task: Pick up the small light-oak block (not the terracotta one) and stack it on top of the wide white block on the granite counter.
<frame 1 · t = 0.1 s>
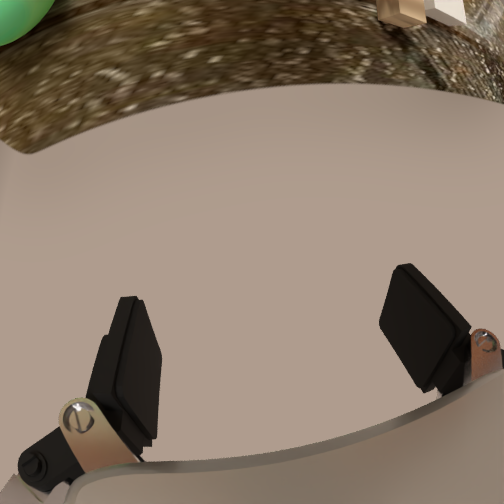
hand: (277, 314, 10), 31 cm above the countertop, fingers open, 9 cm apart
oak block: (389, 11, 28), on the countertop
white block: (430, 1, 26), on the countertop
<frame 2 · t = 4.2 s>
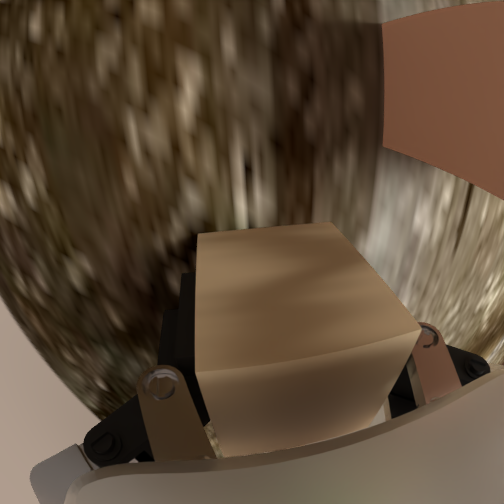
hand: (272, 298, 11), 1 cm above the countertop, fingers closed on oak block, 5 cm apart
terracotta block: (431, 94, 9), on the countertop
oak block: (267, 283, 12), on the countertop, touching gripper
when the fingers open (7 cm above the countertop, at t = 8.4 s): oak block drops 1 cm, resting on white block.
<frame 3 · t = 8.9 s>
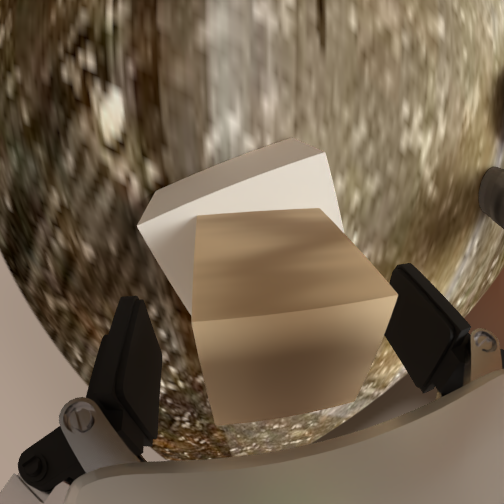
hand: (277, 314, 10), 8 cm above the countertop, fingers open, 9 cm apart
oak block: (260, 264, 13), point 5 cm above the countertop, touching white block
beverage cup: (490, 189, 18), on the countertop
white block: (247, 223, 17), on the countertop, touching oak block
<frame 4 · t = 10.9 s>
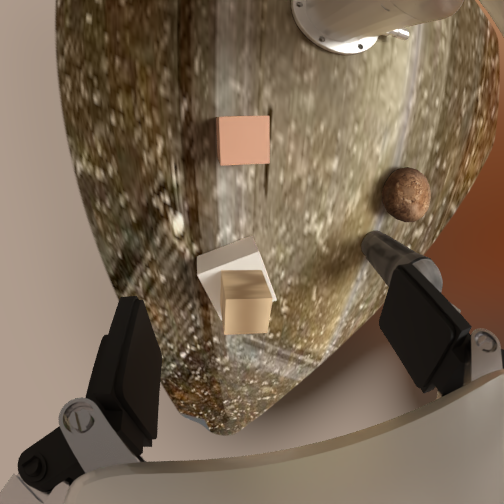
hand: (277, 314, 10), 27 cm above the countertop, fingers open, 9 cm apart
terracotta block: (237, 136, 32), on the countertop
oak block: (240, 287, 36), point 5 cm above the countertop, touching white block
beverage cup: (372, 243, 43), on the countertop
mushroom: (395, 188, 39), on the countertop
white block: (234, 268, 41), on the countertop, touching oak block
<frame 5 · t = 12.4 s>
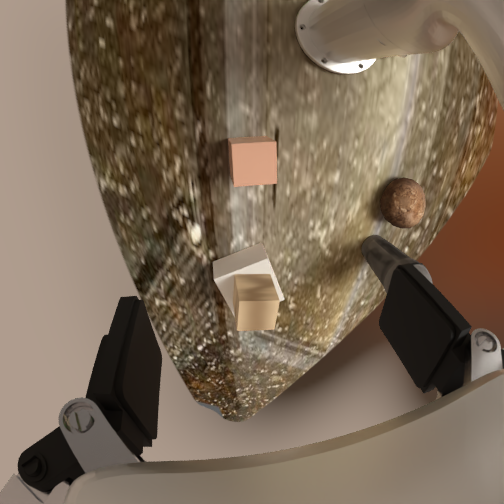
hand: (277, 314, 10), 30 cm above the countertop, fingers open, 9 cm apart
terracotta block: (247, 155, 37), on the countertop
oak block: (251, 288, 41), point 5 cm above the countertop
beverage cup: (371, 246, 47), on the countertop
mushroom: (393, 196, 43), on the countertop
white block: (246, 271, 46), on the countertop
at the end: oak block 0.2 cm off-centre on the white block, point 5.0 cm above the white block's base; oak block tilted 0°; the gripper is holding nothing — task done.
